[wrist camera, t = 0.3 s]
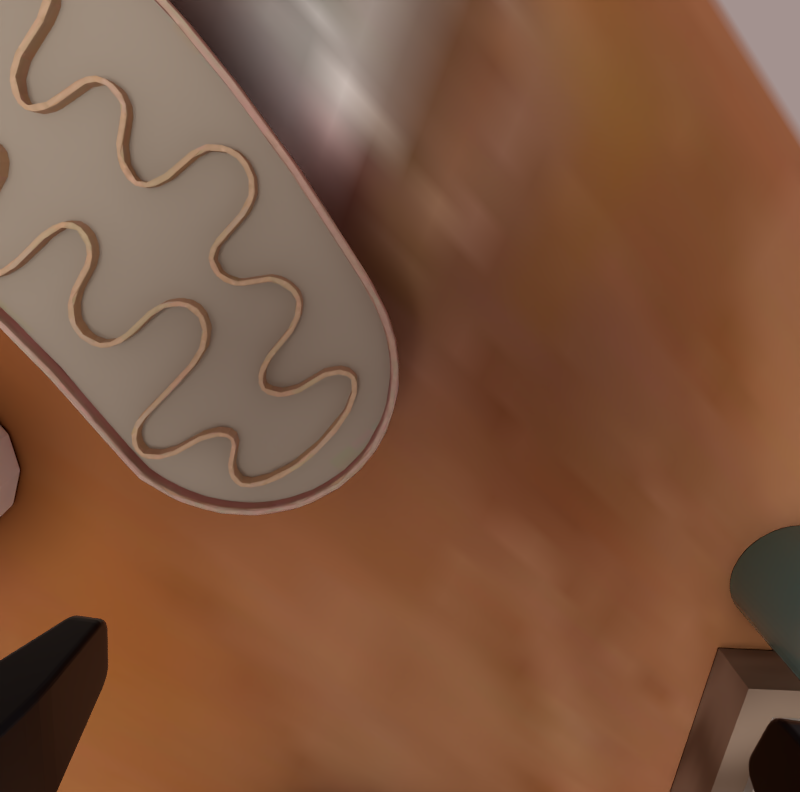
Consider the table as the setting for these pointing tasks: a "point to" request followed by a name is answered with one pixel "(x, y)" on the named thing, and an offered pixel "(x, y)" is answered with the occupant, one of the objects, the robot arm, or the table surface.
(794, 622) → the teal cylinder
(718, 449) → the table surface
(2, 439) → the white cup
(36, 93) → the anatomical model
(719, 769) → the picture frame
